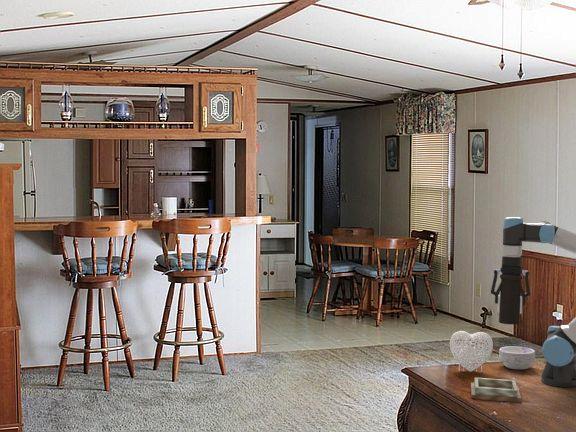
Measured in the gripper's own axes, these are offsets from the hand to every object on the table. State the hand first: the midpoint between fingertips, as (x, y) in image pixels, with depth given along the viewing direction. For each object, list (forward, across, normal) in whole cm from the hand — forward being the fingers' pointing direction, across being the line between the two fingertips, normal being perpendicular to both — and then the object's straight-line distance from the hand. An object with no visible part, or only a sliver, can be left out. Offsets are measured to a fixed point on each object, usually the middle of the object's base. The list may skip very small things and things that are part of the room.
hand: (509, 312), depth 343 cm
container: (+4, 0, 0) cm, 4 cm away
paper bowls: (+29, -6, -31) cm, 43 cm away
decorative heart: (+29, +14, -17) cm, 37 cm away
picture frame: (+29, +5, +17) cm, 34 cm away
